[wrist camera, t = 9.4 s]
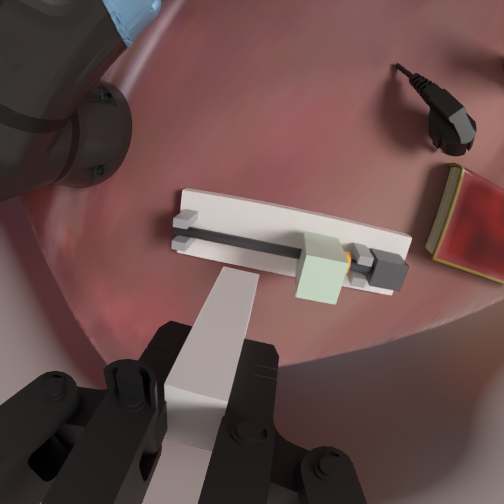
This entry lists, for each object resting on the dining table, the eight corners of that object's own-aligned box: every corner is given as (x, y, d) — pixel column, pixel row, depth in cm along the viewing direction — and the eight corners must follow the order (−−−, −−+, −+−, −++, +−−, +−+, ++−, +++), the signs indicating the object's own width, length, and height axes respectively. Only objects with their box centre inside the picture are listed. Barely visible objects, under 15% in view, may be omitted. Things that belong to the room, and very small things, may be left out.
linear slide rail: (181, 248, 38) (164, 265, 33) (186, 187, 35) (169, 196, 30) (388, 289, 36) (400, 311, 31) (408, 234, 33) (424, 250, 28)
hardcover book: (448, 161, 29) (464, 165, 26) (536, 212, 29) (552, 220, 25) (420, 248, 34) (432, 260, 30) (511, 280, 33) (525, 292, 29)
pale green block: (295, 266, 34) (295, 296, 28) (303, 230, 32) (306, 254, 26) (328, 273, 34) (335, 304, 27) (338, 238, 32) (348, 263, 26)
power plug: (412, 51, 24) (489, 117, 19) (416, 90, 30) (478, 152, 26) (379, 71, 26) (455, 142, 21) (387, 108, 32) (448, 175, 28)
